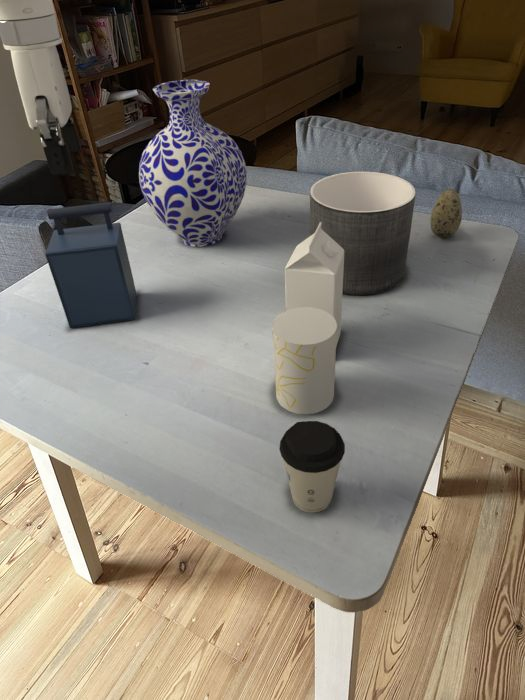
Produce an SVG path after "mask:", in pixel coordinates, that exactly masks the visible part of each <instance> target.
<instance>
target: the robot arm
mask: <svg viewBox="0 0 525 700" xmlns="http://www.w3.org/2000/svg"><path fill="white" fill-rule="evenodd" d="M0 39H1V42H2V47H3V49H4V50H7V51H10V56H11V61H12V67H13V71H14V75H15V80H16V82H17V87H18V91H19V94H20V98H21V102H22V106H23V108H24V113H25V118H26V120H27V124H28V127H29V128H30V129H31V130H33V131H36V130H39V133H38V134H39V137H40V140H41V146H42V149H43V152H44V156H45V159H46V162H47V166H48V168H49V172H50V174H51V175H53V176H57V175H65V174H66V175H67V174H73V172H74V170H75V168H74V165H73V161H72V157H71V153H73V152H74V153H75V152H80V151H81V149H82V145H81V143H80V139H79V136H78V135H79V134H78V132H77V127H76V124H75V123H74V117H73V115H72V111H73V110H72V109H73V108H72V107H73V106H72V101H71V96H70V93H69V92H70V91H69V88H68V85H67V80H66V77H65V73H64V70H63V66H62V62H61V59H60V55H59V52H58V49H57V46H58V45H60V44H62V43H63V38H62V35H61V31H60V26H59V22H58V19H57V15H56V11H55V8H54V3H53V0H0Z"/></svg>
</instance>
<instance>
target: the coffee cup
mask: <svg viewBox="0 0 525 700" xmlns="http://www.w3.org/2000/svg"><path fill="white" fill-rule="evenodd" d="M278 449H279V453H280V456H281V458H282V459H283V464H284V467H285V471H286V476H287V481H288V485H289V490H290V494H291V498H292V502H293V503H294V505H295V506H296V508H297V509H299V510H301V511H304V512H306V513H313V514H314V513H320V512H322V511H323V510H325V509H327V508H328V507H329V505H330V504H331V502H332V498H333V495H334V490H335V487H336V482H337V477H338V474H339V470H340V465H341V462H342V460H343V458H344V456H345V452H346V445H345V441H344V439H343V437H342V435H341V434H340V433H339V431H338V430H336V428H335V427H333V426H331V425H330V424H328V423H326V422H322V421H319V420H304V421H297V422H296V423H294V424H293V425H292V426H291V427H289V428H288V429H287V430H286V431H285V432H284V434H283V436H281V439H280V441H279V447H278Z"/></svg>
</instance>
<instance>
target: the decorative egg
mask: <svg viewBox="0 0 525 700" xmlns="http://www.w3.org/2000/svg"><path fill="white" fill-rule="evenodd" d="M462 220H463V207H462V202H461V198H460V196H459V194H458V192H457V191H456V190H454V189H452V188H448V189H446V190H444V191H443V192H442V193H441V194H440V195H439V197H438V198H437V200H436V202H435V203H434V206H433V208H432V211H431V214H430V218H429V225H430V229H431V231H432V233H433V234H434V236H437V237H438V238H442V239H446V238H450V237H452V236H454V235H455V234H456V233H457V232H458V230H459V228H460V227H461V223H462Z"/></svg>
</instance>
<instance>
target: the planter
mask: <svg viewBox="0 0 525 700" xmlns="http://www.w3.org/2000/svg"><path fill="white" fill-rule="evenodd" d="M416 193H417V192H416V189H415V187H414V186H413V184H412V183H410V182H409V181H408V180H406V179H404V178H401V177H399V176H396V175H393V174H389V173H383V172H376V171H348V172H341V173H335V174H331V175H328V176H325V177H323V178H321V179H318V181H316V182H315V183H313V184H312V186H311V187H310V190H309V237H310V236H311V235H312V234H314V233H315V231H316V229H317V227H318V225H319V223H320V222H321V229H322V230H323V231H324V232H325V233H326V234H327V235H329V236H330V237H331V238H332V239H333V240H334V241H335V242H336V243H337V244H339V245H340V246H341V247H342V248H343V249H344V271H343V292H342V295H343V294H344V295H351V296H367V295H376V294H379V293H383V292H386V291H389V290H392V289H393V288H396V287H397V286H398V285H400V283H401V282H402V281H403V280H404V278H405V276H406V271H407V270H406V269H407V268H406V267H407V259H408V252H409V247H410V246H409V245H410V239H411V231H412V225H413V215H414V209H415V201H416Z"/></svg>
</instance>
